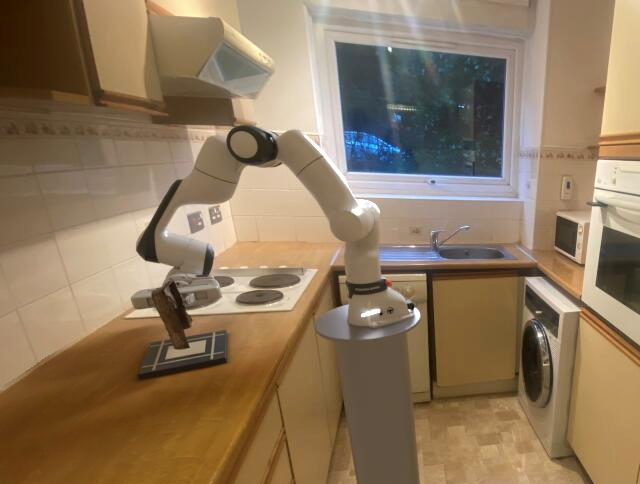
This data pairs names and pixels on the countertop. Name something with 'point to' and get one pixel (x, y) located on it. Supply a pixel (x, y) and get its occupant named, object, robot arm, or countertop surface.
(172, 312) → the mineral sample
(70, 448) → the countertop surface
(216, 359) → the board
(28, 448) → the countertop surface
